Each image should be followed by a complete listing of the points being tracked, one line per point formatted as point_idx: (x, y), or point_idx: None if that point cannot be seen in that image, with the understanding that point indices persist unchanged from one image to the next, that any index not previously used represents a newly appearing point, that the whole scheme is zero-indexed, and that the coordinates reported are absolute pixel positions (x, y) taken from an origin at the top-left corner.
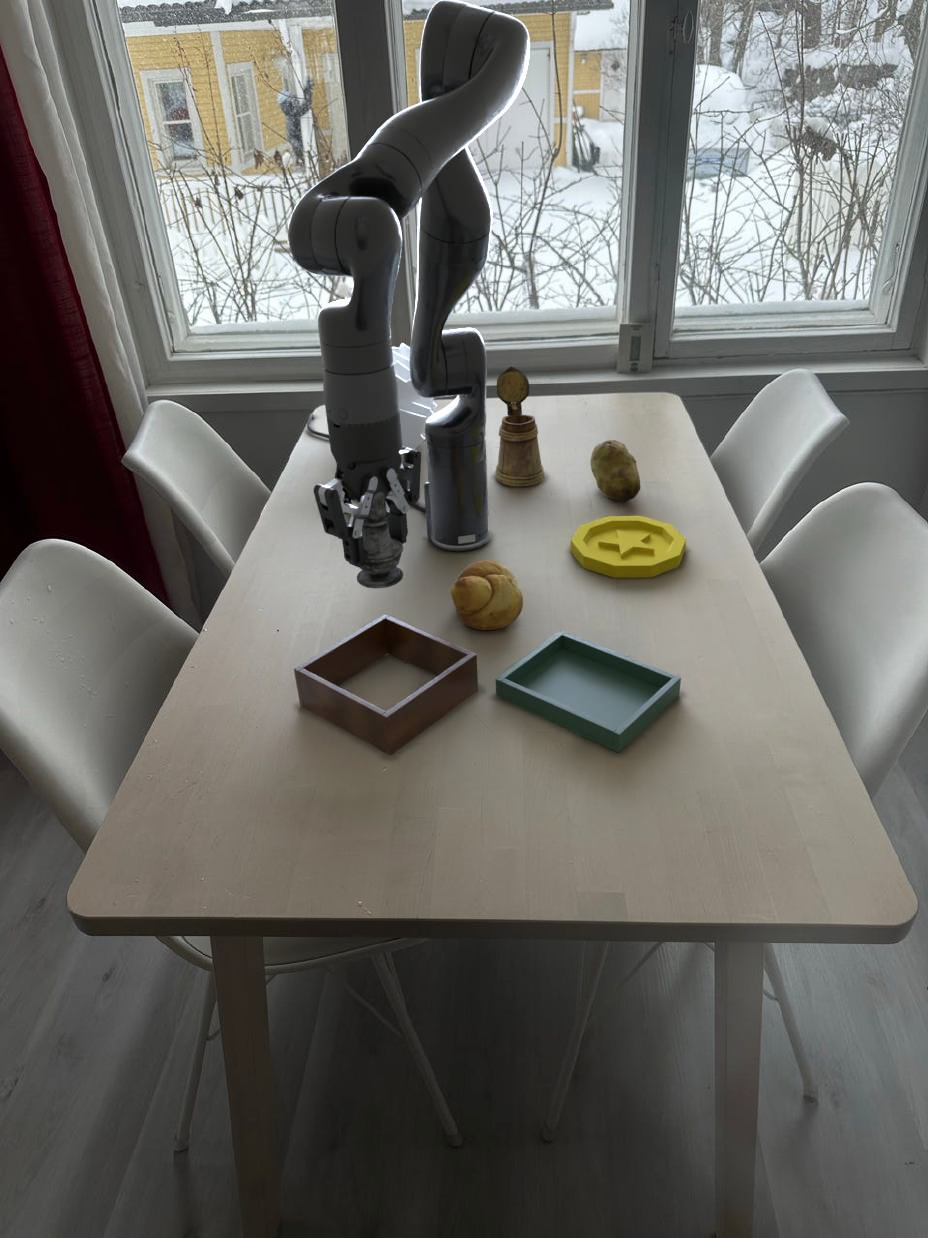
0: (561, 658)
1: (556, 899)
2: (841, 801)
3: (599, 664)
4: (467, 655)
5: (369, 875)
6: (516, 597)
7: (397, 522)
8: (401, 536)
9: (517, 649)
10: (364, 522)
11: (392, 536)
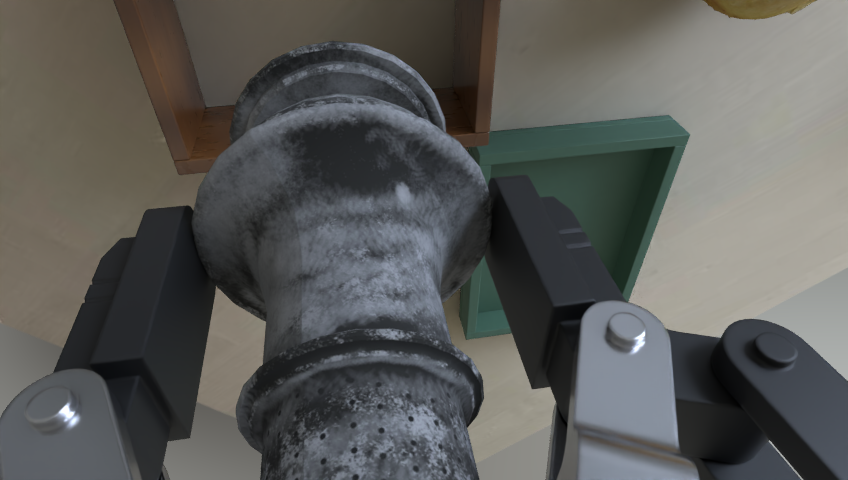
0: (625, 151)
1: (222, 396)
2: (514, 433)
3: (632, 203)
4: (472, 134)
5: (24, 283)
6: (775, 15)
7: (521, 329)
8: (495, 283)
9: (631, 56)
10: (255, 444)
11: (497, 214)
